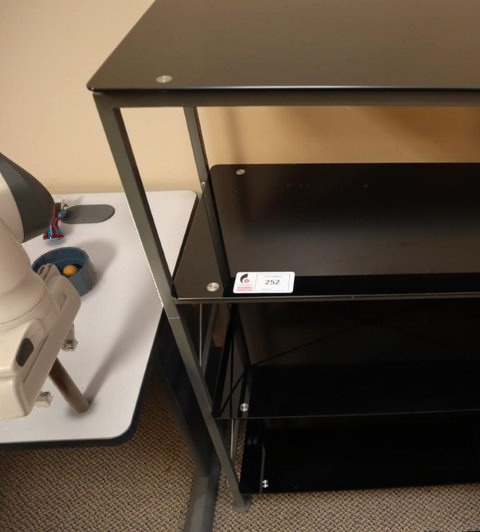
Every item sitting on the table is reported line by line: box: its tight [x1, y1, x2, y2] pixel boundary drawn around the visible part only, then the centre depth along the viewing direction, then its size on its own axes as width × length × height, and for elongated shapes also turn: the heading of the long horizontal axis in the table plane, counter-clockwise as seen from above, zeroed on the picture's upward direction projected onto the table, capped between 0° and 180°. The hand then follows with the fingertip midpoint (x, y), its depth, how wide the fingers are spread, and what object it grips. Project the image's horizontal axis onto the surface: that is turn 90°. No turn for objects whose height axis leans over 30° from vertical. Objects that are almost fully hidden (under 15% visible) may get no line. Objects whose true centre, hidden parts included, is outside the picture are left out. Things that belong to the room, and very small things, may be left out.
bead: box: [63, 265, 78, 277], centre depth 99 cm, size 2×2×2 cm
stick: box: [47, 357, 90, 415], centre depth 76 cm, size 2×2×15 cm
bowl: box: [31, 246, 98, 298], centre depth 97 cm, size 10×10×6 cm
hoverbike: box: [42, 198, 69, 242], centre depth 108 cm, size 5×12×6 cm, turn 17°
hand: (58, 374), depth 75 cm, fingers open, 8 cm apart
